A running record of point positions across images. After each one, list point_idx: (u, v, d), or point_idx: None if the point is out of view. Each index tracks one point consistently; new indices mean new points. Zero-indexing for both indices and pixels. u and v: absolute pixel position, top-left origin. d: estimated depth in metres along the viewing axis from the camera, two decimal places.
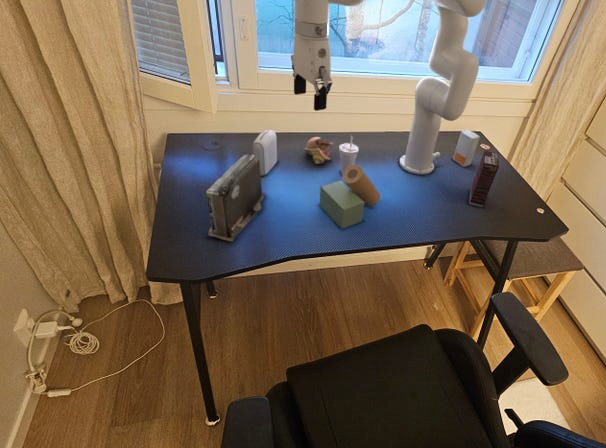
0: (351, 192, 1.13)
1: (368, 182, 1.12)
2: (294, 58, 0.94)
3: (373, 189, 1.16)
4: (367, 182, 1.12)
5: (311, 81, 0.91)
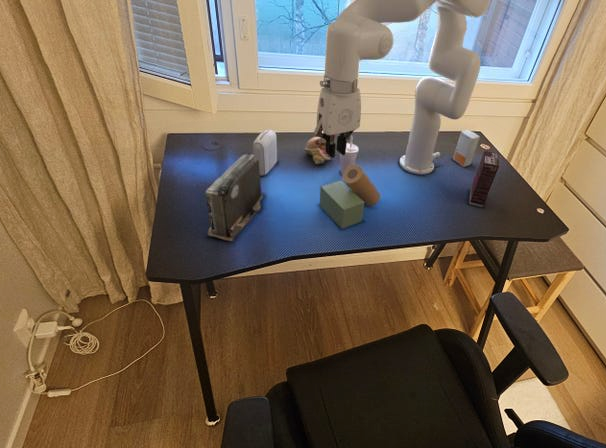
0: (351, 192, 1.13)
1: (368, 182, 1.12)
2: None
3: (373, 189, 1.16)
4: (367, 182, 1.12)
5: None
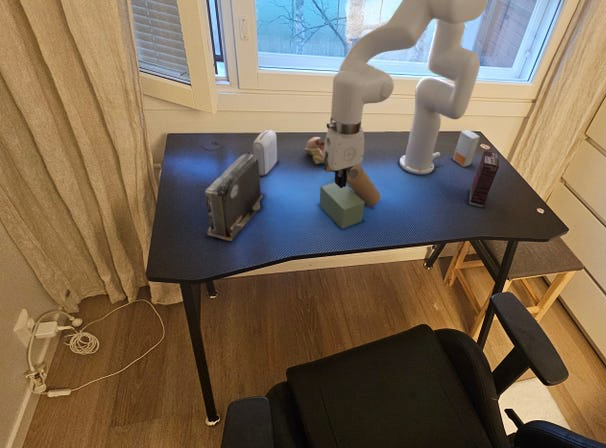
0: (351, 192, 1.13)
1: (368, 182, 1.12)
2: None
3: (373, 189, 1.16)
4: (367, 182, 1.12)
5: None
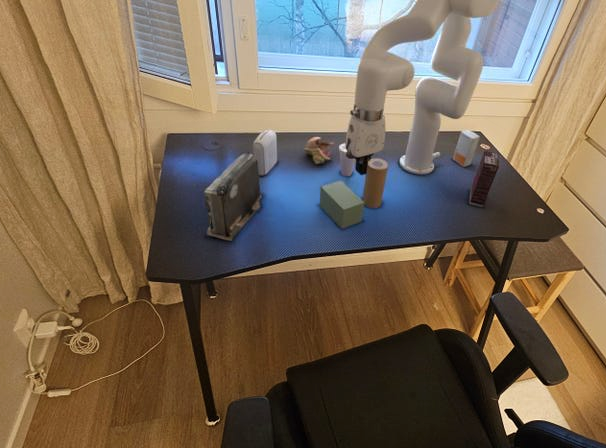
0: (351, 192, 1.13)
1: (385, 179, 1.17)
2: None
3: (383, 190, 1.19)
4: (385, 178, 1.16)
5: None
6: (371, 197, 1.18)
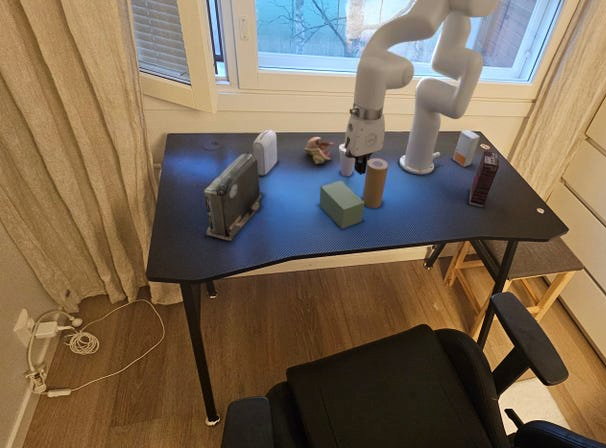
0: (351, 192, 1.13)
1: (385, 179, 1.17)
2: None
3: (383, 190, 1.19)
4: (385, 178, 1.16)
5: None
6: (371, 197, 1.18)
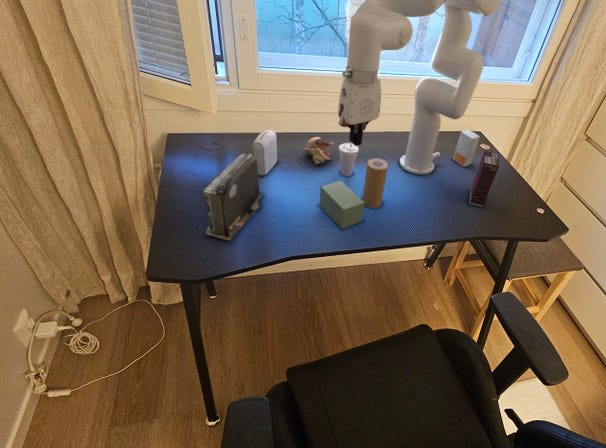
0: (351, 192, 1.13)
1: (385, 179, 1.17)
2: None
3: (383, 190, 1.19)
4: (385, 178, 1.16)
5: None
6: (371, 197, 1.18)
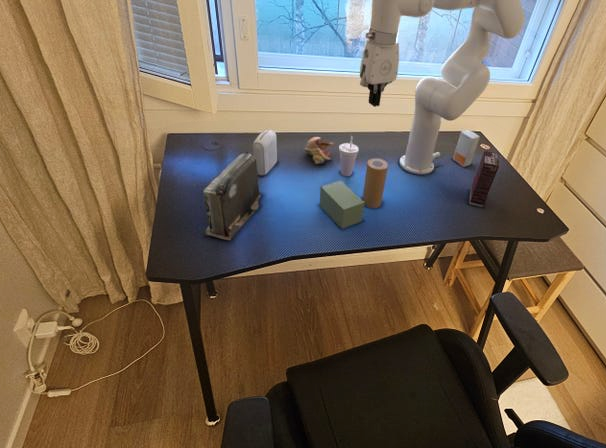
0: (351, 192, 1.13)
1: (385, 179, 1.17)
2: None
3: (383, 190, 1.19)
4: (385, 178, 1.16)
5: None
6: (371, 197, 1.18)
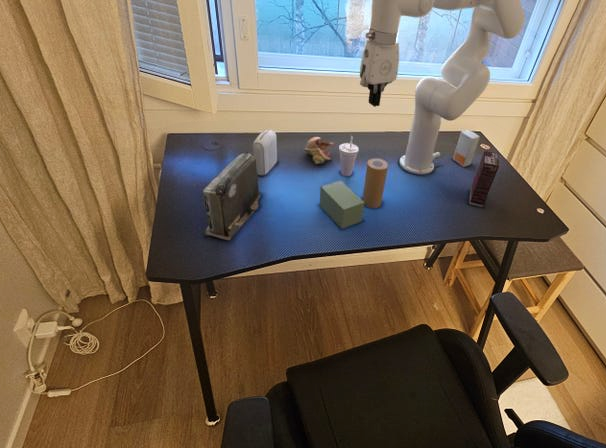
0: (351, 192, 1.13)
1: (385, 179, 1.17)
2: None
3: (383, 190, 1.19)
4: (385, 178, 1.16)
5: None
6: (371, 197, 1.18)
